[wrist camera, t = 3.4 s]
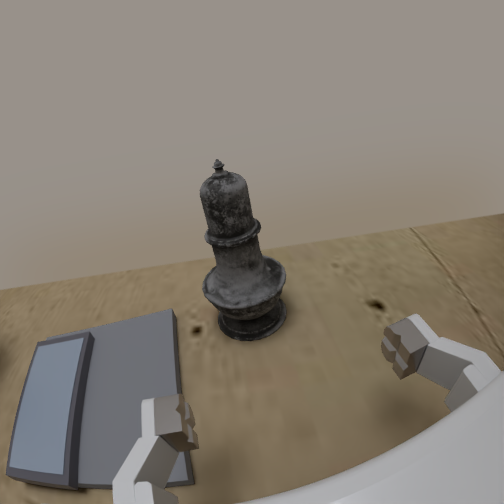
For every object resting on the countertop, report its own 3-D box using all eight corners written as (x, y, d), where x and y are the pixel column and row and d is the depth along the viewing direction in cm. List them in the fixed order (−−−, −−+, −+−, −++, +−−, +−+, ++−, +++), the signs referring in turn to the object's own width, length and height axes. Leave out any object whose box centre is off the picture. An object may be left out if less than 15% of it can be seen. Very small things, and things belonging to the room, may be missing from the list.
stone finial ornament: (199, 328, 22) (146, 178, 16) (241, 283, 26) (210, 147, 20) (264, 355, 19) (226, 178, 13) (303, 300, 23) (286, 144, 16)
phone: (94, 338, 21) (89, 330, 20) (77, 490, 10) (67, 485, 9) (43, 349, 20) (37, 341, 20) (14, 480, 9) (4, 474, 9)
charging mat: (175, 317, 23) (172, 308, 23) (194, 483, 12) (188, 480, 11) (52, 344, 22) (47, 337, 21) (25, 479, 10) (15, 474, 10)
